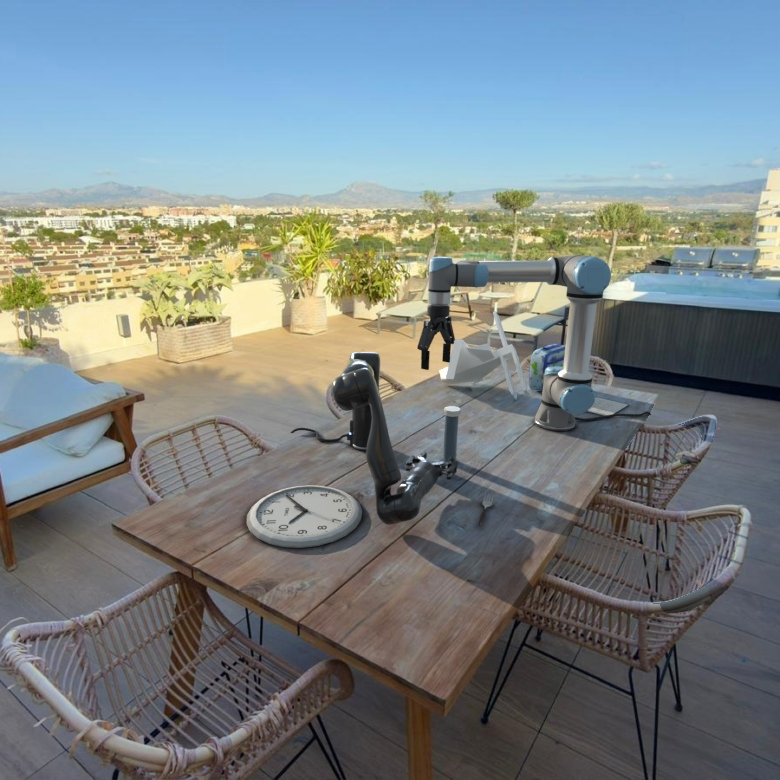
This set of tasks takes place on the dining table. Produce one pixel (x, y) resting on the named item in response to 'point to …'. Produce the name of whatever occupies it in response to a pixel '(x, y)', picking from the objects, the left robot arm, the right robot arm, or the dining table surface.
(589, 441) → the dining table surface
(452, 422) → the bottle
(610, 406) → the invitation card
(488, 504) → the fork
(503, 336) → the white plastic object
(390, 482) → the left robot arm
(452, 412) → the lid
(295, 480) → the dining table surface
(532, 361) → the lunch box
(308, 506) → the wall clock
